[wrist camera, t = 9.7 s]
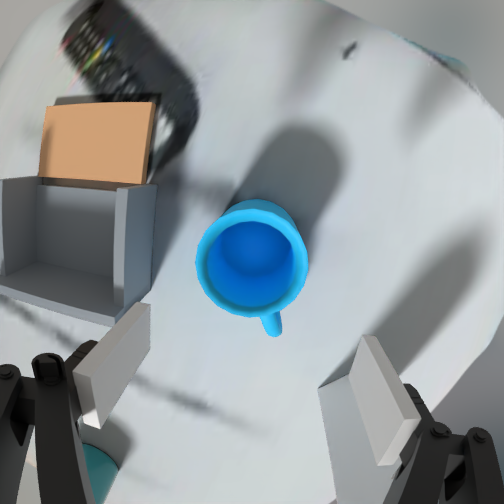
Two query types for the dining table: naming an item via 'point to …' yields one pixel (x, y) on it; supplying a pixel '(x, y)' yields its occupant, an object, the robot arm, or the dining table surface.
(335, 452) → the milk
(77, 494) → the robot arm
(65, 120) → the panel
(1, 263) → the box
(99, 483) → the cup
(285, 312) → the dining table surface
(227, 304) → the mug
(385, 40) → the dining table surface
